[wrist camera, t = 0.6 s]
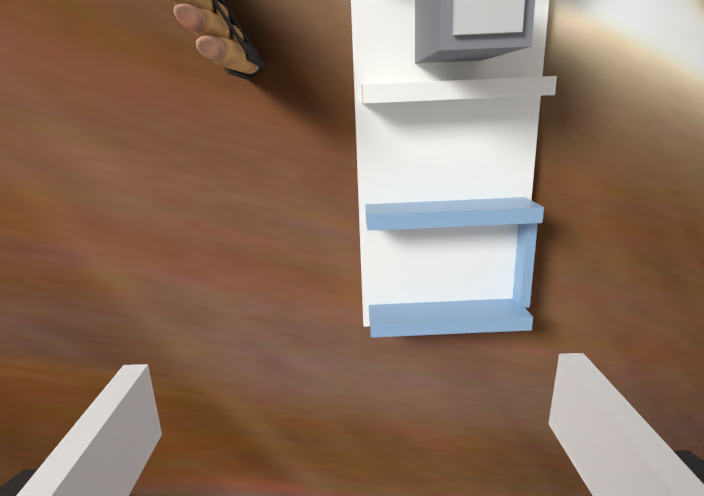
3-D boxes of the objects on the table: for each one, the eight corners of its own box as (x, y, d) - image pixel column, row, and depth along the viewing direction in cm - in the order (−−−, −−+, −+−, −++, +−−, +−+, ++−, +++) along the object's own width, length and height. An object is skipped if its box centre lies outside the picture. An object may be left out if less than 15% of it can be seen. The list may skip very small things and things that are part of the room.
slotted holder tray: (348, -65, 31) (348, -92, 26) (549, -74, 31) (582, -102, 26) (363, 321, 40) (365, 347, 36) (516, 314, 40) (536, 339, 36)
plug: (415, -14, 31) (443, -60, 22) (486, -18, 31) (543, -65, 22) (414, 63, 32) (440, 49, 24) (482, 60, 32) (534, 45, 24)
